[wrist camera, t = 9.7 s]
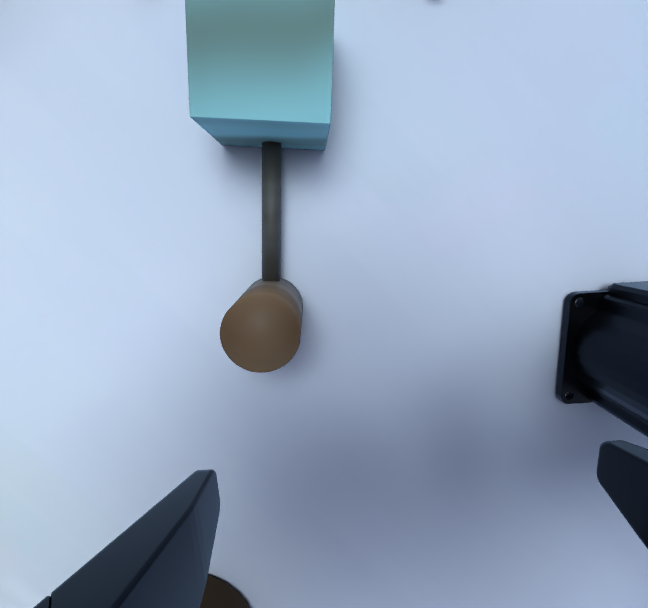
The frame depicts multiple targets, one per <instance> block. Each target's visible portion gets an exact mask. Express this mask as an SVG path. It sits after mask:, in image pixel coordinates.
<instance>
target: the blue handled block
mask: <svg viewBox="0 0 648 608" xmlns="http://www.w3.org/2000/svg"><path fill="white" fill-rule="evenodd" d="M334 8H335V0H185V9H186V34H187V58H188V83H189V108H190V117H191V118H192V119H193V120H194V121H196V122H197V123H198V124H199V125H200V126H201V127H202V128H203V129H205V130H206V131H207V132H208V133H209V134H210V135H211V136H212V137H214V138H215V139H216V140H217V141H218V142H219V143H220V144H222V145H226V146H248V147H262V279H260V280H258V281H256V282H254V283H253V284H252V285H251V286H250V287H249V288H248V289H247V290H246V292H245V293H244V294H243V295H242V296H241V297H240V298H239V299H238V300H237V301H236V302H235V303H234V305H233V306H232V307H231V308H230V309H229V310H228V311H227V313H226V314H225V316H224V318H223V320H222V323H221V327H220V340H221V344H222V347H223V349H224V351H225V353H226V354H227V356H228V357H229V358H230V359H231V360H232V361H233V362H234V363H235V364H236V365H238V366H240V367H241V368H243V369H246V370H249V371H252V372H270V371H274V370H277V369H279V368H281V367H282V366H284V365H285V364H287V363H288V362H289V361H290V360H291V359H292V358H293V356H294V355H295V353H296V351H297V349H298V346H299V343H300V334H301V321H302V308H303V304H302V298H301V295H300V293H299V291H298V290H297V289H296V287H295V286H294V285H293V284H292V283H290V282H289V281H287V280H285V279H283V278H280V249H281V151H282V148H291V149H312V150H325V146H326V141H327V136H328V132H329V127H330V116H331V89H332V62H333V35H334Z"/></svg>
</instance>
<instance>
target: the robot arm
mask: <svg viewBox="0 0 648 608" xmlns="http://www.w3.org/2000/svg"><path fill="white" fill-rule="evenodd" d="M577 298H578V299H579V301H578V303H577V304H576V305H575V300H576V299H577ZM567 392H569V394H568V395H567V396H565V395H566V393H567ZM556 395H557V398H558V399H559V400H561V401H562V402H564V403H566V404H573V403H588V402H594V403H595V404H597V405H598V406H600V407H601V408H603V409H605V410H606V411H608V412H609V413H611V414H612V415H614V416H615V417H617V418H619V419H620V420H622V421H623V422H625V423H626V424H628V425H630V426H631V427H633V428H634V429H636V430H637V431H639V432H640V433H642V434H644V435H645V436H647V437H648V281H647V282H630V283H614V284H612V285H611V286H609V288H608V290H598V291H581V292H573V293H570V294H569V295H568V296H567V298H566V301H565V309H564V319H563V329H562V340H561V350H560V360H559V370H558V380H557V391H556ZM597 477H598V480H599V482H600V484H601V485H602V487H603V488H604V489H605V491H606V492H607V494H608V495H609V496H610V498H611V499H612V501H613V502H614V503H615V505H616V506H617V507H618V509H619V510H620V512H621V513H622V514H623V516H624V517H625V519H626V520H627V521H628V523H629V524H630V525H631V527H632V528H633V530H634V531H635V532H636V534H637V535H638V537H639V538H640V539H641V541H642V542H643V543H644V545H645V546H646V547H647V549H648V449H645V448H642V447H639V446H637V445H634V444H631V443H628V442H625V441H620V440H618V441H606V442H603V443H602V444H601V446H600V450H599V457H598V465H597ZM219 511H220V497H219V490H218V483H217V476H216V472H215V471H214V470H212V469H211V470H198V471H196V472H194V473H193V474H192V475H191V476H189V477H188V478H187V479H186V480H185V481H183V482H182V483H181V484H180V485H179V486H177V487H176V488H175V489H174V490H173V491H172V492H170V493H169V494H168V495H167V496H166V497H164V498H163V499H162V500H161V501H160V502H158V503H157V504H156V505H155V506H154V507H153V508H151V509H150V510H149V511H148V512H147V513H145V514H144V515H143V516H142V517H141V518H140V519H138V520H137V521H136V522H135V523H134V524H132V525H131V526H130V527H129V528H128V529H126V530H125V531H124V532H123V533H122V534H121V535H119V536H118V537H117V538H116V539H115V540H113V541H112V542H111V543H110V544H109V545H107V546H106V547H105V548H104V549H103V550H102V551H100V552H99V553H98V554H97V555H96V556H94V557H93V558H92V559H91V560H90V561H89V562H87V563H86V564H85V565H84V566H83V567H81V568H80V569H79V570H78V571H77V572H75V573H74V574H73V575H72V576H71V577H70V578H68V579H67V580H66V581H65V582H64V583H62V584H61V585H60V586H59V587H58V588H56V589H55V590H54V591H53V592H52V594H51V597H50V596H47V597H46V598H44V599H43V600H42V601H41V602H40V603H38V604H37V605H36V606H35V607H34V608H199V607H200V604H201V600H202V597H203V593H204V589H205V585H206V581H207V576H208V571H209V565H210V560H211V554H212V549H213V544H214V538H215V533H216V527H217V522H218V517H219Z"/></svg>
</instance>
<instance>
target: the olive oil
mask: <svg viewBox="0 0 648 608" xmlns="http://www.w3.org/2000/svg"><path fill="white" fill-rule="evenodd" d="M199 608H250V607H249V605H248V603H247V602H246V600H245V599H244V598H243V597H242V596H241V594H240V593H239V592H238V591H236V590H235V589H234V588H233V587H232V586H230V585H229V584H227V583H225V582H224V581H222V580H220V579H218V578H215V577H213V576H210V575H208V576H207V581H206V585H205V589H204V593H203V597H202V600H201V604H200V607H199Z"/></svg>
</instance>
